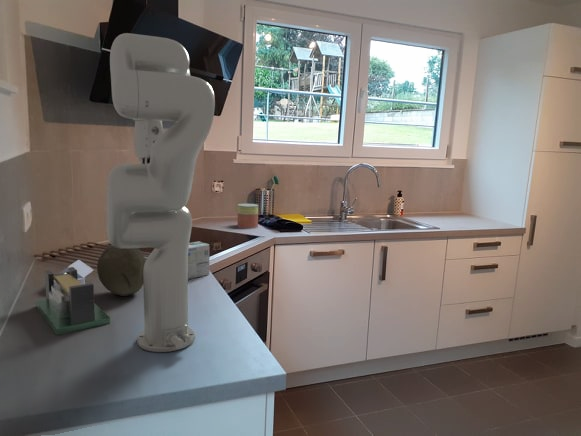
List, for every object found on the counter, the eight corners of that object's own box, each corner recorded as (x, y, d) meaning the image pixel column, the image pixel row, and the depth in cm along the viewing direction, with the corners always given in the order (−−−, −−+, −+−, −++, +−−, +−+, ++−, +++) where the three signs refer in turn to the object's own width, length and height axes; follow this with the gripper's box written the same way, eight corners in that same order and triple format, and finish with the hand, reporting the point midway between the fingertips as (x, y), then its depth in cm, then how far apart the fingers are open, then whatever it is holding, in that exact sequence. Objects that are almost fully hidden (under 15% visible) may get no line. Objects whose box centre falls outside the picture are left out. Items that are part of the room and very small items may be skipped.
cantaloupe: (157, 289, 136) (156, 241, 134) (132, 305, 123) (131, 252, 120) (115, 284, 139) (113, 237, 137) (86, 300, 125) (84, 248, 123)
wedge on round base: (65, 279, 143) (46, 293, 130) (64, 259, 141) (45, 270, 129) (94, 280, 143) (78, 293, 131) (93, 259, 142) (77, 271, 129)
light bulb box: (199, 270, 158) (199, 240, 156) (210, 274, 153) (210, 244, 152) (172, 275, 151) (172, 244, 149) (182, 280, 146) (182, 248, 144)
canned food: (262, 227, 244) (262, 205, 242) (247, 229, 236) (247, 207, 234) (248, 224, 252) (248, 203, 250) (232, 226, 243) (233, 204, 241)
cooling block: (110, 323, 110) (108, 282, 109) (56, 335, 103) (54, 291, 101) (83, 298, 127) (82, 262, 125) (36, 306, 119) (34, 268, 117)
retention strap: (89, 296, 108) (89, 289, 108) (71, 299, 105) (71, 293, 105) (68, 276, 122) (68, 271, 122) (52, 279, 120) (52, 273, 119)
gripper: (173, 115, 116) (173, 186, 119) (150, 117, 128) (150, 181, 131) (145, 113, 112) (146, 186, 115) (123, 115, 123) (125, 181, 126)
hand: (148, 183), depth 123 cm, fingers closed
